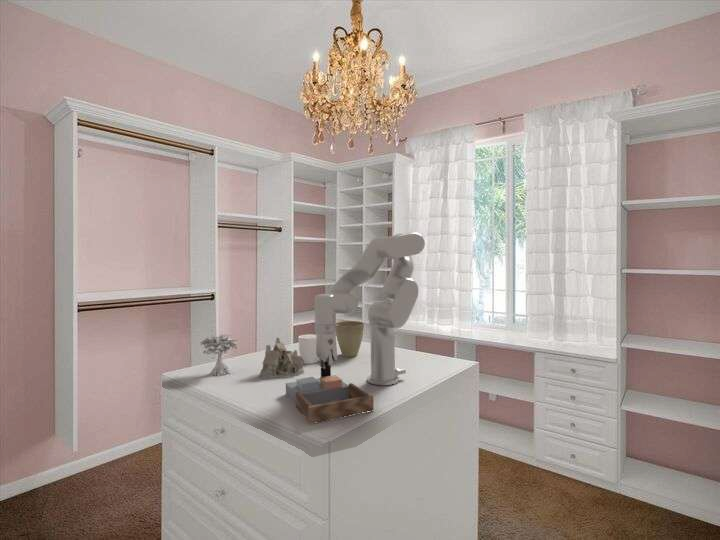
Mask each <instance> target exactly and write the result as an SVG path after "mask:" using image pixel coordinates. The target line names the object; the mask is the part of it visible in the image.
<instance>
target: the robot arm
mask: <svg viewBox="0 0 720 540" xmlns="http://www.w3.org/2000/svg"><path fill="white" fill-rule="evenodd" d="M425 245H426V242H425V238H424V237H423V235H422V234H420V233H418V232H405V233H403V232H402V233H396V234H395V235H390V236H379V237H375V238H373V239H372V240H371V241H370V242H369V243H368V245H367V246H366V247H365V249H364V251H363V252H362V253H361V255H360V257H359V258H358V260H357V261H356V262H355V264H354V265H353V267H351V268H350V269H349V270H347V271H346V272H345V273H344V274H343V275H342V276H341V277H339V279H337V281H336V282H335V283H334V284H333V286H332V288H331V289H330V291H329V293H320V294H317V295H315V296H314V334H315V335H316V355H317V357H318V360H320V362H319V363H320V377H326V376H332V375H331V374H332V373H331V372H332V369H331V368H332V366H333V361H334V362H335V361H337V360H338V346H337V336H336V323H337V321H336V314H344V315H346V314H347V315H348V314H351V313H354V312H355V311H356V310H357V308H358V307H359V301H358V298H357V297H356V296H355V295H354V294H352V293H351V292H352V291H353V290H355V289H356V288H357V287H358V286H360V285H362V284H366V283H368V282H369V281H371V280H372V279H373V278H374V277H375V275H376V274H377V272H378V271H379V269H380V267H381V266H382V265H383V263H384V261H385V260H386V259H387V260H388V259H389V260H391V259H392V261H393V262H392V266H391V269H390V271H389V273H388V276H387V278H386V279H385V281H384V283H383V286H382V290H381V293H382V296H383V297H384V298H385V299H387V300H389V301H386V300H377V301H374V302H372V304H371V305H370V306H369V309H368V311H367V315H368V316H367V318H368V323H369V328H370V331H369V332H370V375H368V376H367V378H366V381H367V383H369V384H370V385H375V386H393V385H396V384H398V383H399V382H400V377H399V376H400V375H405V374H406V372H407V371H406V368H402V369H401V368H399V367H398V368H396V336H395V330H394V329H400V328H403V326H404V325H406V323H407V321H408V320H409V318H410V315H411V313H412V312H413V308H414V307H415V304H416V302H417V300H418V296H419V285H418V283H417V282H416V281H415V280H414V279H412V278H411V277H412V275H413V273H414V262H413V257H412V256H415V255H418V254H420V253H421V252H422V251H423V250H424V248H425ZM390 301H391V302H390ZM392 384H393V385H392Z"/></svg>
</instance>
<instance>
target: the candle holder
mask: <svg viewBox="0 0 720 540" xmlns="http://www.w3.org/2000/svg"><path fill="white" fill-rule="evenodd" d="M297 338H298V348H299V349H298V350H299V352H298V354H299V356H301V357H302V359H303V360H304V363H303V365H304V364H305V365H312V364H316V363H318V362H319V358H318V357H317V355H316V334H315V333H314V334H311V333H310V334H309V333H308V334H300V335H299V336H298V337H297Z"/></svg>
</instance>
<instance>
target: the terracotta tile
mask: <svg viewBox="0 0 720 540" xmlns="http://www.w3.org/2000/svg"><path fill="white" fill-rule="evenodd" d="M319 378H320V385H321V386H323V387H324V388H325V389H331V388H337V387H342V381H343V379H342V378H340V377H339V376H338V375H331V376H326V377H321V376H320V377H319Z"/></svg>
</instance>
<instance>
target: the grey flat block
mask: <svg viewBox="0 0 720 540" xmlns="http://www.w3.org/2000/svg"><path fill="white" fill-rule="evenodd" d="M315 379H316V380H318V381H319V388H318V389H312V390H306V391H301V390H300V389H299V388H298V387H297V381H291V382H286V383H285V395H286V396H287V397H288V398H289V399H290V400H291V402H292V403H293V404H294V405H295V404H296V392H300V393H301V394H302V395H303V396H304V397H305V398H306V399H307V400H308V401H309V402H310V403H311V404H312V405H316V404H315V403H317V404H323V403H329V402H333V401H332V400H334V401H338V400H337V399H340V400H345V399H350V398H349V384H347V383H346V382H344V381H343V380H342V387H337V388H331V389H325V388H324V387H323V386H321V385H320V377H319V378H315ZM344 398H345V399H344ZM322 402H323V403H322Z"/></svg>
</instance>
